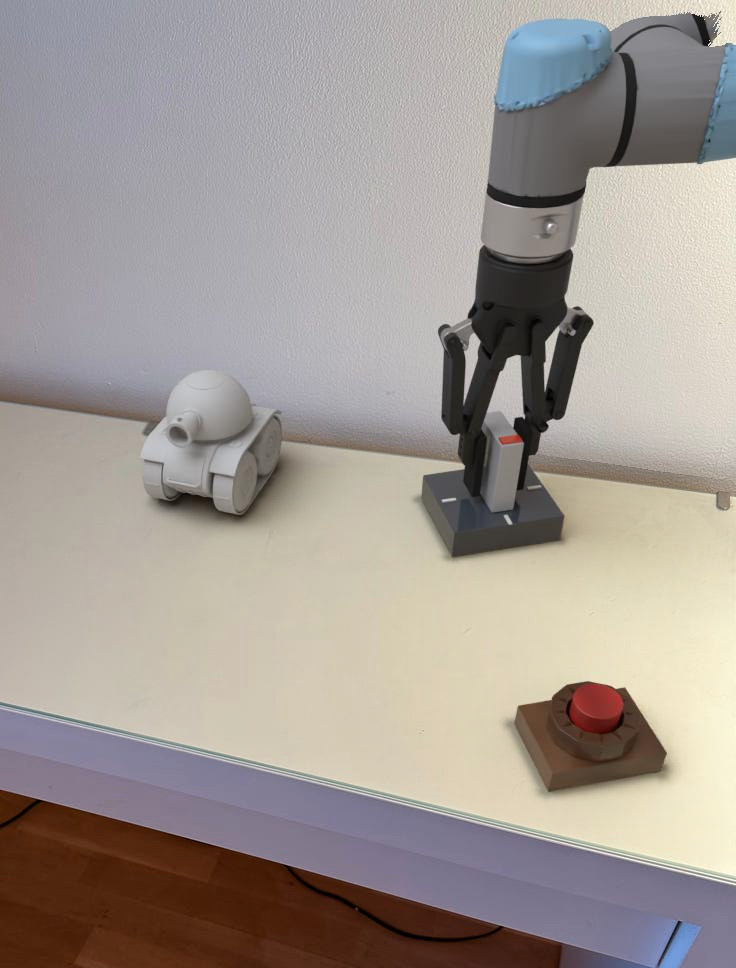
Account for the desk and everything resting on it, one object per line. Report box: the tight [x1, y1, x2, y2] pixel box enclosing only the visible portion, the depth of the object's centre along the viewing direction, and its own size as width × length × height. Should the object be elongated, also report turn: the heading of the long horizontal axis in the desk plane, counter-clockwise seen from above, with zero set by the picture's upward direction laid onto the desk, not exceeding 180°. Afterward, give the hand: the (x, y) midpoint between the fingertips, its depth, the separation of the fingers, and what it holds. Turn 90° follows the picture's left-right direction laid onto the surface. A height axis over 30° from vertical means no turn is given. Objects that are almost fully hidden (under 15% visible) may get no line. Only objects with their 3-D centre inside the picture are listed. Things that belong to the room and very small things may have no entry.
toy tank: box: [139, 369, 283, 516], centre depth 100 cm, size 15×11×13 cm
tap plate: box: [420, 463, 566, 558], centre depth 96 cm, size 11×10×3 cm
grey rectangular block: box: [480, 410, 524, 513], centre depth 92 cm, size 6×2×8 cm, turn 10°
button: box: [570, 683, 623, 734], centre depth 72 cm, size 4×4×2 cm
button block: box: [513, 680, 668, 792], centre depth 74 cm, size 9×7×4 cm
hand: (493, 485), depth 94 cm, fingers open, 4 cm apart
